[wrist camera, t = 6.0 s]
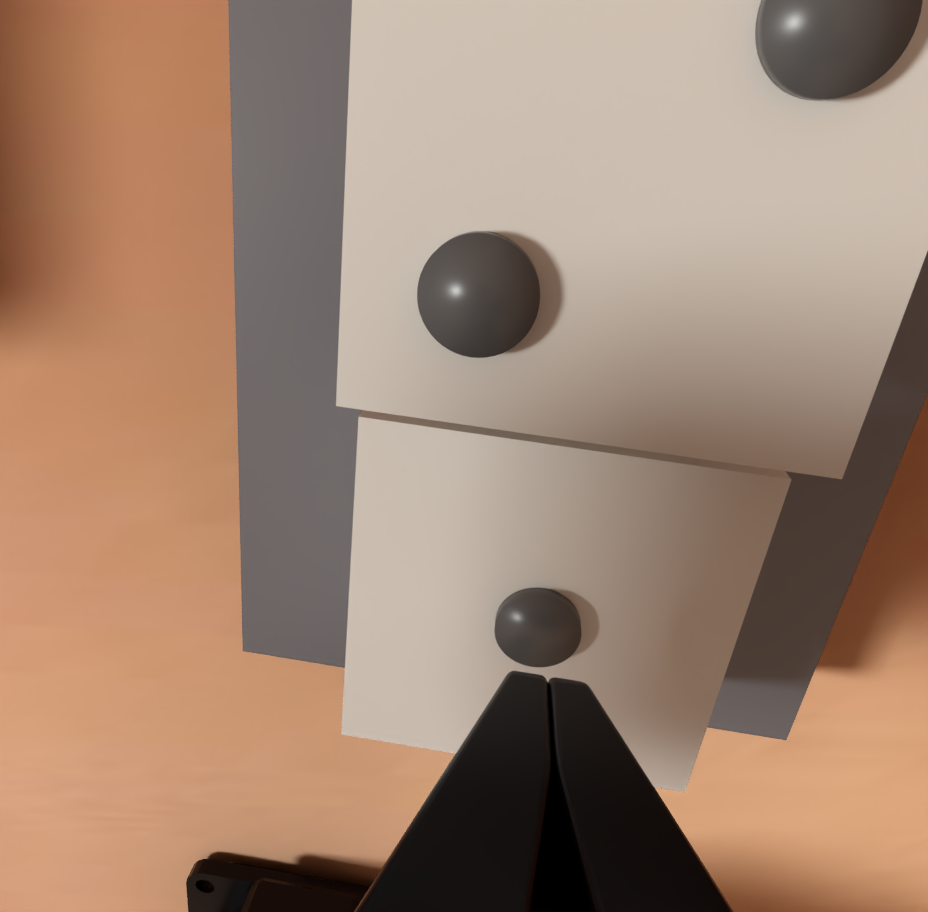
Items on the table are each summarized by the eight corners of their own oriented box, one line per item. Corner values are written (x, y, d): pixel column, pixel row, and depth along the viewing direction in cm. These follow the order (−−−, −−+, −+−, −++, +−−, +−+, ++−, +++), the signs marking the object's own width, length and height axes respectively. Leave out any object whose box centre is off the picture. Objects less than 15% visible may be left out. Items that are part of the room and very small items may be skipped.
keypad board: (755, 665, 14) (785, 739, 12) (279, 589, 15) (242, 650, 13) (1268, -753, 7) (1528, -1078, 5) (287, -808, 7) (203, -1120, 6)
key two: (778, 409, 9) (850, 488, 7) (378, 354, 9) (329, 413, 7) (937, -90, 7) (1113, -198, 4) (410, -145, 7) (355, -268, 5)
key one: (663, 693, 12) (686, 804, 10) (372, 645, 12) (337, 745, 10) (745, 417, 10) (796, 486, 8) (391, 367, 10) (354, 422, 8)
